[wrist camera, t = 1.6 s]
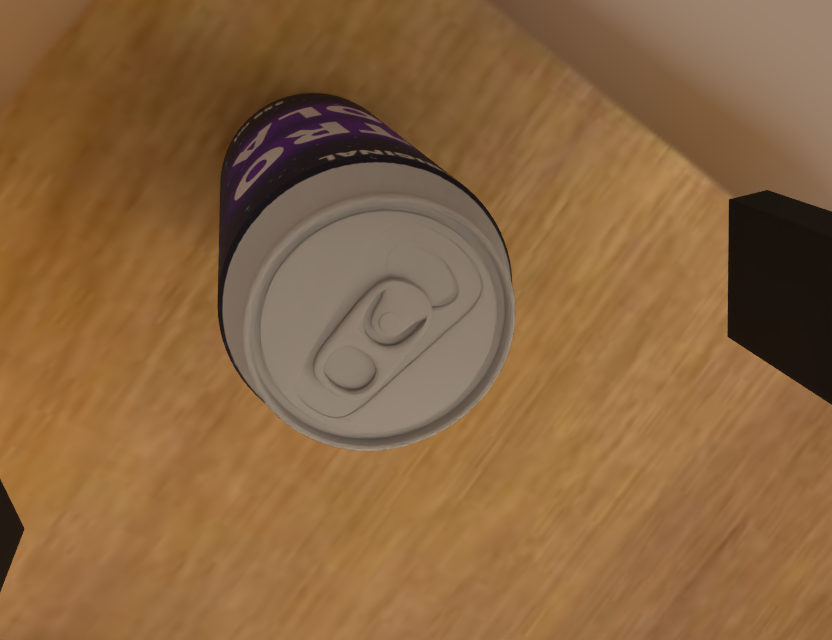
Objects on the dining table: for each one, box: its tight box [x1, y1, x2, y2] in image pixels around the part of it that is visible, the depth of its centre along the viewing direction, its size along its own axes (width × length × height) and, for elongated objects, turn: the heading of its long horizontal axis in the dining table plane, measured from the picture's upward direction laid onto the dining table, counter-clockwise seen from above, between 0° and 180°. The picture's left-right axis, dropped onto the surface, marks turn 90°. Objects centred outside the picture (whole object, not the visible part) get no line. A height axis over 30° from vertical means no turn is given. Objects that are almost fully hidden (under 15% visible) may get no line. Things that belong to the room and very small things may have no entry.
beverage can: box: [218, 93, 515, 451], centre depth 18 cm, size 6×6×12 cm
